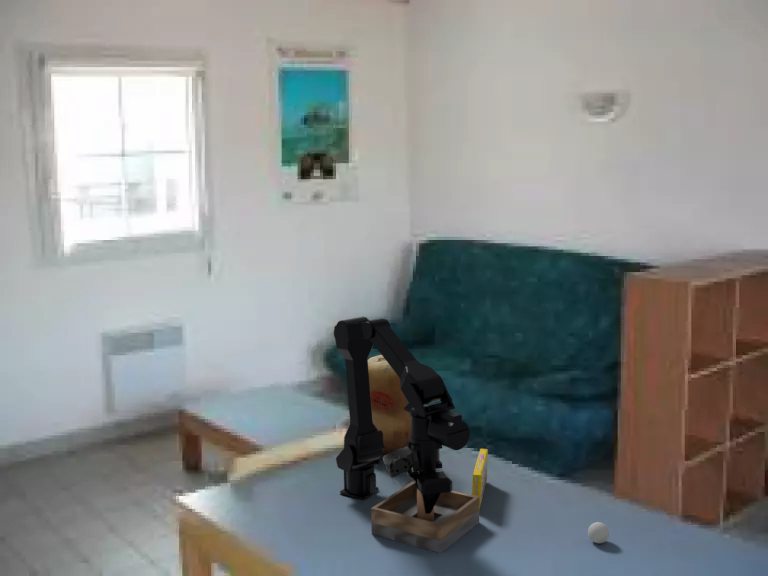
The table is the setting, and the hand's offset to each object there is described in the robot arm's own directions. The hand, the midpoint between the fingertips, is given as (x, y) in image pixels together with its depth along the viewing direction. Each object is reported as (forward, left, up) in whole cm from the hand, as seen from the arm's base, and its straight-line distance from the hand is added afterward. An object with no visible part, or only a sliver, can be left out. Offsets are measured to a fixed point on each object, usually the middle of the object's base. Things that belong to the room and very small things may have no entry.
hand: (425, 509), depth 185 cm
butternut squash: (-30, +31, -4) cm, 43 cm away
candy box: (+2, +20, -4) cm, 21 cm away
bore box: (0, 0, -4) cm, 4 cm away
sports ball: (+32, +12, -4) cm, 34 cm away
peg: (0, 0, -3) cm, 3 cm away
